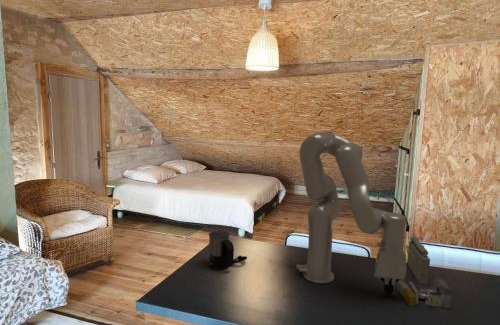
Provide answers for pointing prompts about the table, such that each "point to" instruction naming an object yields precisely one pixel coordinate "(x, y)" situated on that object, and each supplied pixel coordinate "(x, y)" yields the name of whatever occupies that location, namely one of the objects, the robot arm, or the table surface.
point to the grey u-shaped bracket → (439, 289)
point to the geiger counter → (418, 260)
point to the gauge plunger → (421, 295)
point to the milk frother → (222, 251)
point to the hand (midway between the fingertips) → (388, 293)
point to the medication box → (406, 293)
